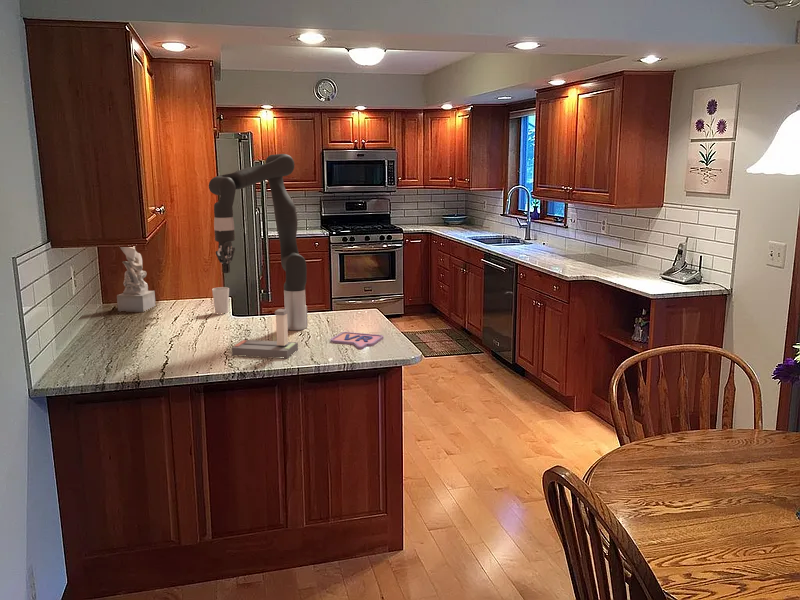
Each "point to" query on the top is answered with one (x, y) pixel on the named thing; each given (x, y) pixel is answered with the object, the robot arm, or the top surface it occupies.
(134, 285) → the sculpture
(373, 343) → the icon
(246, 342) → the switch base
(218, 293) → the cup
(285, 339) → the handle
